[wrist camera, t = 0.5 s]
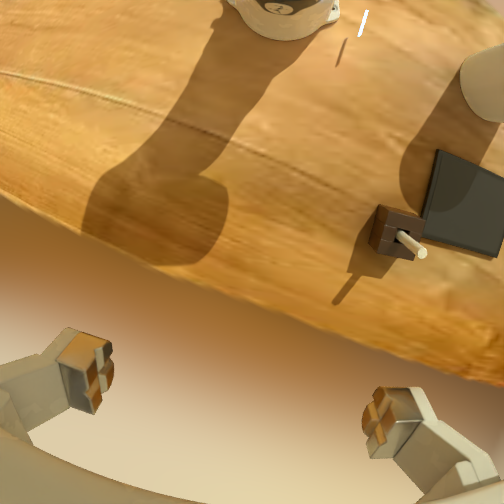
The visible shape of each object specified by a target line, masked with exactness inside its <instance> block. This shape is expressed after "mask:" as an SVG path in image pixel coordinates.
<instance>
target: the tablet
mask: <svg viewBox="0 0 504 504" xmlns="http://www.w3.org/2000/svg"><path fill="white" fill-rule="evenodd" d="M420 217H421V218H422V219H424V220H426V222H425V226H424V229H423V232H422V236H421V237H424V238H427V239H431V240H435V241H439V242H442V243H446V244H450V245H453V246H457V247H461V248H464V249H468V250H471V251H475V252H478V253H482V254H485V255H488V256H492V257H495V258H497V257H498V254H499V251H500V248H501V245H502V242H503V239H504V178H503V177H501V176H499V175H497V174H495V173H492V172H490V171H488V170H486V169H484V168H482V167H480V166H477V165H475V164H473V163H471V162H468V161H466V160H464V159H461V158H459V157H457V156H454V155H452V154H449V153H447V152H444V151H442V150H439V149H437V150H436V155H435V160H434V164H433V169H432V173H431V177H430V181H429V185H428V189H427V193H426V197H425V201H424V205H423V209H422V212H421V216H420Z"/></svg>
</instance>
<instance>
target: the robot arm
mask: <svg viewBox="0 0 504 504" xmlns="http://www.w3.org/2000/svg"><path fill="white" fill-rule="evenodd" d="M227 2H228V3H229V4H230V5H231V6H233V7H234V8H236V9H237V10H238V11H239V13H240V15H241V17H242V19H243V20H244V22H245V23H246V24H247V25H248V26H249V27H250V28H251V29H252V30H253V31H255V32H256V33H258V34H260V35H262V36H264V37H267V38H270V39H274V40H282V41H289V40H297V39H301V38H304V37H306V36H308V35H310V34H312V33H313V32H315V31H316V30H317V29H318V28H320V27H321V26H323V25H325V24H329V23H333V22H335V21H337V20H338V19H339V16H340V11H339V0H227ZM332 8H333V9H334V10H332ZM367 13H368V10H366V11H365V14H364V18H363V21H362V24H361V28H360V31H359V34H358V36H359V37H360V36H361V33H362V30H363V27H364V23H365V20H366V17H367ZM112 352H113V350H112V343H111V342H110V341H108V340H105V339H102V338H99V337H96V336H93V335H90V334H87V333H84V332H80V331H78V330H75V329H72V328H69V327H68V328H65V329H64V330H63V331H62V332H61V333H60V334H59V335H58V336H57V337H56V338H55V340H54V341H53V342H52V343H51V344H50V345H49V346H48V347H47V348H46V349H45V351H44V352H43V353H42V354H41V355H38V354H34V355H31V356H28V357H25V358H22V359H19V360H15V361H12V362H9V363H6V364H3V365H0V504H206V503H200V502H195V501H190V500H185V499H180V498H176V497H172V496H167V495H163V494H159V493H155V492H151V491H148V490H144V489H141V488H138V487H134V486H131V485H128V484H125V483H122V482H118V481H116V480H113V479H109V478H107V477H104V476H101V475H99V474H96V473H93V472H91V471H88V470H86V469H83V468H81V467H78V466H76V465H73V464H71V463H69V462H67V461H64V460H62V459H59V458H58V457H55V456H53V455H51V454H49V453H47V452H45V451H43V450H41V449H39V448H37V447H35V446H33V443H32V441H31V439H30V437H29V435H28V434H27V432H28V431H30V430H32V429H34V428H35V427H37V426H39V425H41V424H43V423H44V422H46V421H48V420H50V419H51V418H53V417H55V416H57V415H58V414H60V413H62V412H64V411H65V410H67V409H69V408H70V407H72V408H75V409H78V410H81V411H84V412H86V413H89V414H92V415H94V414H95V413H96V411H97V409H98V407H99V405H100V404H101V402H102V395H101V394H102V393H104V392H106V391H108V389H109V388H110V386H111V383H112V380H113V376H114V363H113V361H112V360H111V359H110V355H111V354H112ZM372 396H373V399H374V401H372V402H371V403H370V404H368V405H367V406H366V408H365V410H364V412H363V416H362V429H363V433H364V434H366V435H367V436H368V437H369V438H368V440H367V442H366V445H367V449H368V453H369V457H370V459H380V458H393V460H394V461H395V462H396V463H397V464H398V465H399V467H400V468H401V469H402V470H403V471H404V472H405V473H406V474H407V476H408V477H409V478H410V479H411V480H412V481H413V482H414V483H415V484H416V485H417V486H418V488H419V489H420V490H421V491H422V492H423V493H424V494H425V495H424V496H423V497H422V498H420V499H419V500H418V501H417V502H416V503H415V504H504V480H501V479H500V477H499V475H498V473H497V471H496V469H495V467H494V464H493V462H492V461H491V458H490V456H489V455H488V454H487V453H485V452H484V451H483V450H481V449H480V448H479V447H477V446H476V445H474V444H473V443H472V442H470V441H469V440H468V439H466V438H465V437H464V436H462V435H461V434H459V433H458V432H457V431H455V430H454V429H452V428H451V427H450V426H449V425H447V424H446V423H444V422H443V421H442V420H439V421H438V419H437V418H436V415H435V413H434V411H433V409H432V407H431V405H430V403H429V401H428V399H427V397H426V395H425V393H424V391H423V390H422V389H421V388H420V387H380V386H379V387H378V388H377V389H376V390H375V392H374V393H373V395H372ZM69 406H70V407H69Z"/></svg>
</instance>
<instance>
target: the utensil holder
mask: <svg viewBox="0 0 504 504" xmlns="http://www.w3.org/2000/svg"><path fill="white" fill-rule="evenodd" d="M460 86H461V90H462V93H463V96H464V98H465V100H466V102H467V104H468V105H469V107H470V108H471V109H472V111H473V112H474V113H475V114H476V115H478V116H479V117H481V118H482V119H484V120H486V121H491V122H500V123H504V43H502V44H499V45H497V46H494V47H491V48H488V49H485V50H482V51H480V52H478V53H475V54H473V55H471V56H469V57H468V58H467V59H466V60H465V61H464V62H463V64H462V66H461V69H460Z"/></svg>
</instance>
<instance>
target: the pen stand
mask: <svg viewBox="0 0 504 504" xmlns="http://www.w3.org/2000/svg"><path fill="white" fill-rule="evenodd" d="M425 222H426V220H424V219H422V218H421V217H419V216H417V215H416V214H414V213H410V212H407V211H403V210H399V209H396V208H392V207H388V206H385V205H381V204H379V206H378V210H377V214H376V218H375V221H374V225H373V229H372V232H371V235H370V239H369V242H368V244H369V245H370V246H371V247H372V248H373V249H374V251H375V252H376V253H379V254H383V255H388V256H393V257H397V258H402V259H406V260H411V261H413V260H414V257H415V254H414V253H413V252H412V251H411V250H410V249H408V248H407V247H406V246H405V245H404V244H403V243H401V242H400V241H399V240H398V239H397V238H396V237H395V235H396V232H397V229H398V228H399V229H401V230H402V231H403V232H405V233H406V234H407V235H408V236H410V237H411V238H412V239H414V240H415V241H416V242H418V243H419V242H420V239H421V236H422V232H423V229H424V226H425Z"/></svg>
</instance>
